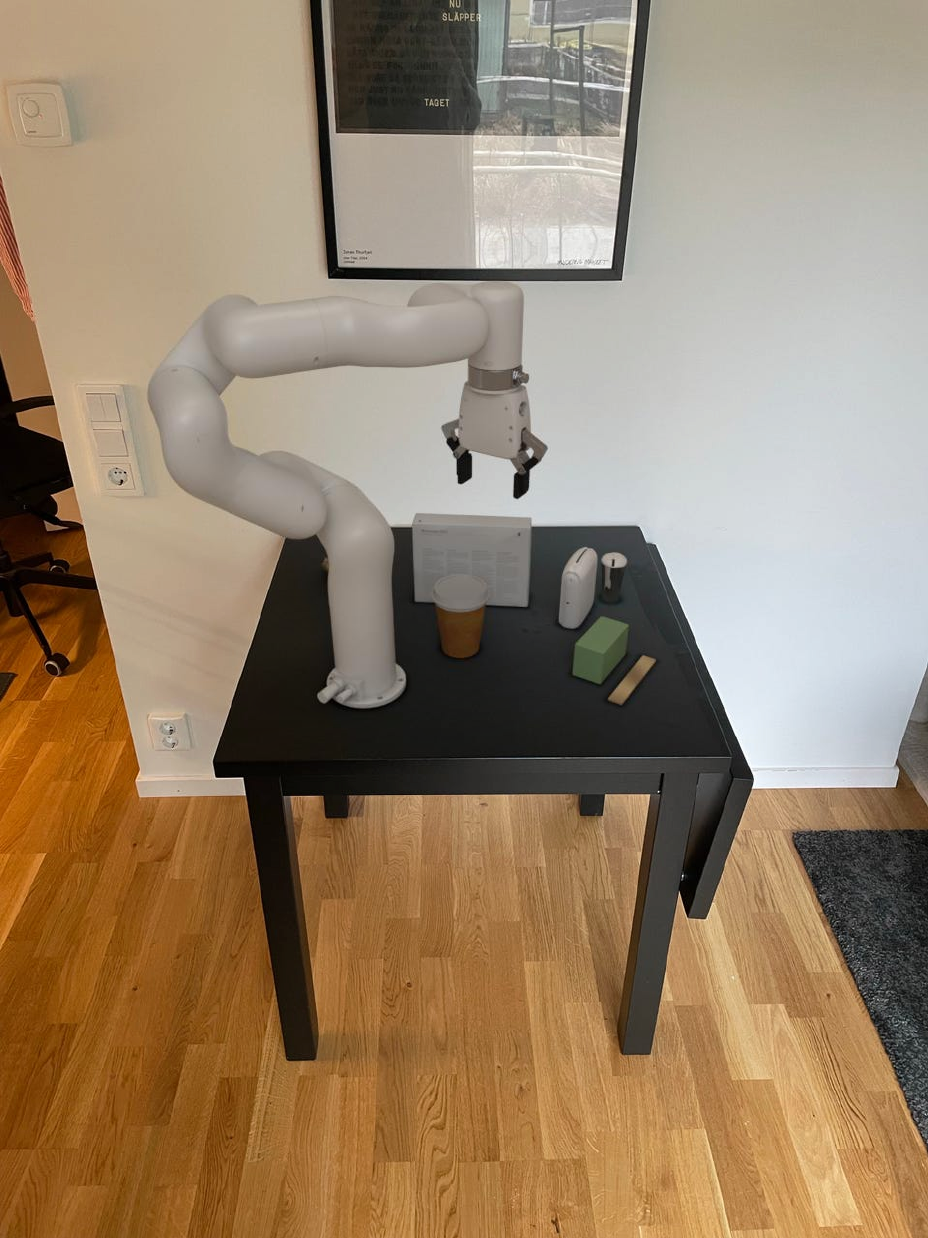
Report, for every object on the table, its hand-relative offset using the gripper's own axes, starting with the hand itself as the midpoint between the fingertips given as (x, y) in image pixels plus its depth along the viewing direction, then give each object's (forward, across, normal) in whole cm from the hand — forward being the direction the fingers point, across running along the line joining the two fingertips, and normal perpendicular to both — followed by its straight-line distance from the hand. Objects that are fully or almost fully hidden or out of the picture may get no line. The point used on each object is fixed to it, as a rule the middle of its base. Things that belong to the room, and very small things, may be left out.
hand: (492, 488), depth 136 cm
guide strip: (+30, -24, -6) cm, 39 cm away
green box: (+30, -17, -7) cm, 36 cm away
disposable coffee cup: (+31, +5, +1) cm, 31 cm away
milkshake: (+31, -10, -27) cm, 42 cm away
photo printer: (+31, -7, -19) cm, 37 cm away
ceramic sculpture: (+31, +34, -6) cm, 46 cm away
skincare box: (+31, +12, -14) cm, 36 cm away
